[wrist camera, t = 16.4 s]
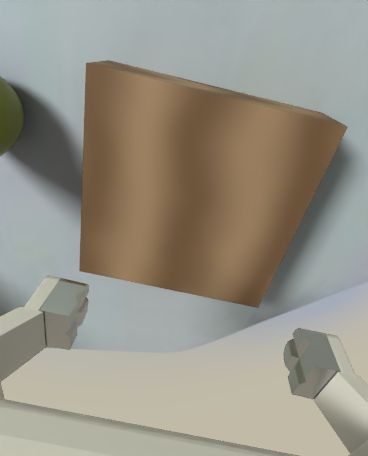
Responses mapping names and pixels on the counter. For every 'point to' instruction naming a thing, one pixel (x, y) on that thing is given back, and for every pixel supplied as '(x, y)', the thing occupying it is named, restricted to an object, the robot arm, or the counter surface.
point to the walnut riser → (194, 181)
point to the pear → (9, 116)
